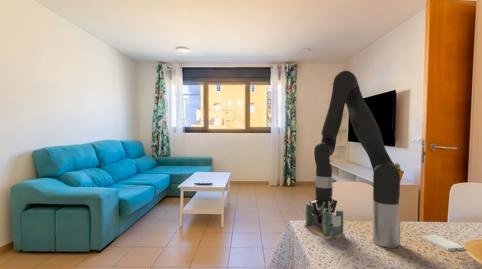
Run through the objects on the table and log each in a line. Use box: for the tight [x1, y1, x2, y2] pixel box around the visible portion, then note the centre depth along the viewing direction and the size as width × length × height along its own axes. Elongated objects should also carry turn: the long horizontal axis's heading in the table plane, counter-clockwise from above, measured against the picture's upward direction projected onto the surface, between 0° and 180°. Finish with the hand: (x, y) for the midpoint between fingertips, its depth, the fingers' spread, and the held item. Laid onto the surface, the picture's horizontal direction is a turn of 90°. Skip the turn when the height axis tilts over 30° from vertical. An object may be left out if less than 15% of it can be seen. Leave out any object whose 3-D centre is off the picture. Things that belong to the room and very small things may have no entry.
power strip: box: [313, 209, 341, 227], centre depth 117 cm, size 4×19×6 cm, turn 20°
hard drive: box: [419, 234, 465, 252], centre depth 105 cm, size 2×8×12 cm
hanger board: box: [304, 203, 346, 241], centre depth 117 cm, size 10×16×11 cm, turn 20°
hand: (323, 222), depth 117 cm, fingers closed on power strip, 4 cm apart
